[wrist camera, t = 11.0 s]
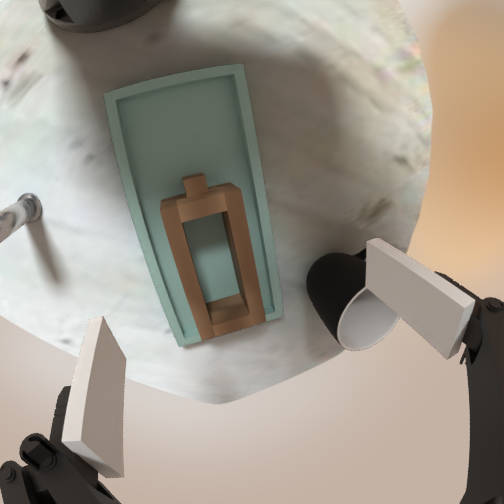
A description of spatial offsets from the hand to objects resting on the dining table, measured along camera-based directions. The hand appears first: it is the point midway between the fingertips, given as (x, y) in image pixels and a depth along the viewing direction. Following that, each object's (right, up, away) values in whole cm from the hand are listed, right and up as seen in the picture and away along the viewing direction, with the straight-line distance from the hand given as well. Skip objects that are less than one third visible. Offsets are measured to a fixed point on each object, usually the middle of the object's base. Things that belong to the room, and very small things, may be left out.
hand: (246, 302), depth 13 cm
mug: (+11, 0, +24) cm, 26 cm away
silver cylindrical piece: (-23, +7, +11) cm, 26 cm away
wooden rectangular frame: (-4, +2, +17) cm, 18 cm away
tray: (-5, +6, +16) cm, 18 cm away
